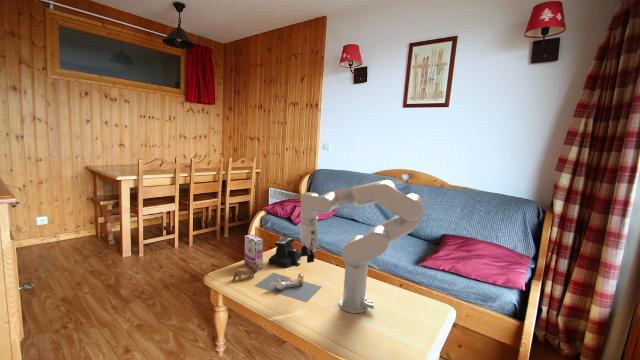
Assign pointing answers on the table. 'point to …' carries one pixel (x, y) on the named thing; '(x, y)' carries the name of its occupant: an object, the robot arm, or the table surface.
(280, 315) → the table surface
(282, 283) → the crank handle
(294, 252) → the camera
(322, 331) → the table surface
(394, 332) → the table surface
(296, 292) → the base plate
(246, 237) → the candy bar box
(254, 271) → the lion figurine
